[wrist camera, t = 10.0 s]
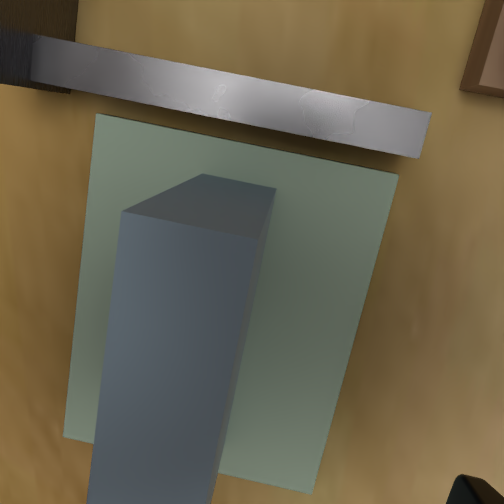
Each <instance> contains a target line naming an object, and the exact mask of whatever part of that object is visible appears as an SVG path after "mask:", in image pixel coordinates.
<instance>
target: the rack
mask: <svg viewBox="0 0 504 504" xmlns="http://www.w3.org/2000/svg"><path fill="white" fill-rule="evenodd" d="M77 7H78V0H0V84H7V85H14V86H20V87H27V88H33V89H40V90H46V91H53V92H59V93H66V94H70V89H75V90H80V91H85V92H90V93H95V94H100V95H105V96H110V97H115V98H120V99H125V100H130V101H135V102H140V103H145V104H150V105H154V106H159V107H164V108H169V109H174V110H179V111H184V112H189V113H194V114H199V115H204V116H209V117H214V118H219V119H224V120H229V121H234V122H239V123H244V124H249V125H254V126H259V127H264V128H268V129H273V130H278V131H283V132H288V133H293V134H298V135H303V136H308V137H313V138H318V139H323V140H328V141H333V142H338V143H343V144H348V145H353V146H358V147H363V148H368V149H373V150H378V151H383V152H387V153H392V154H397V155H402V156H407V157H412V158H417V159H419V157H420V154H421V150H422V147H423V143H424V139H425V136H426V132H427V129H428V125H429V122H430V118H431V115H432V113H430V112H425V111H420V110H415V109H410V108H405V107H400V106H395V105H390V104H385V103H380V102H375V101H370V100H365V99H360V98H355V97H349V96H344V95H339V94H334V93H329V92H324V91H319V90H314V89H309V88H304V87H299V86H294V85H289V84H284V83H279V82H274V81H268V80H263V79H258V78H253V77H248V76H243V75H238V74H233V73H228V72H223V71H218V70H213V69H208V68H203V67H198V66H193V65H187V64H182V63H177V62H172V61H167V60H162V59H157V58H152V57H147V56H142V55H137V54H132V53H127V52H122V51H117V50H112V49H107V48H101V47H96V46H91V45H86V44H81V43H76V42H74V41H75V30H76V18H77Z"/></svg>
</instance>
